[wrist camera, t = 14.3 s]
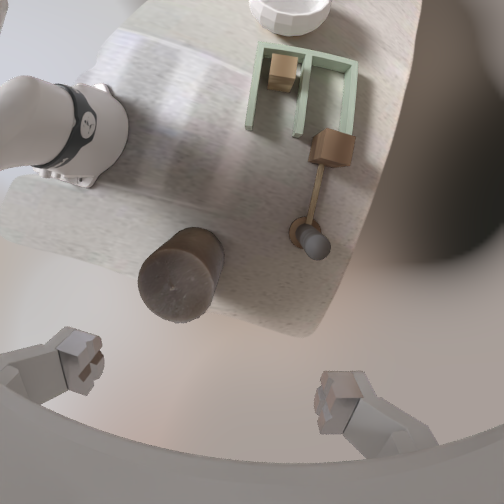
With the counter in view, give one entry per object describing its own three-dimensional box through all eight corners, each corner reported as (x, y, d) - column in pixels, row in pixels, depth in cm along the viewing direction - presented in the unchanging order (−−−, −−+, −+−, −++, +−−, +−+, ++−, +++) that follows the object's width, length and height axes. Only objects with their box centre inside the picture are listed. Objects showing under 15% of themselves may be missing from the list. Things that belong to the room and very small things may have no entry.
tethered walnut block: (285, 244, 46) (294, 262, 36) (309, 136, 42) (325, 124, 32) (315, 250, 47) (331, 270, 36) (340, 144, 42) (363, 136, 32)
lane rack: (245, 130, 42) (244, 125, 38) (257, 51, 39) (258, 41, 35) (342, 146, 42) (350, 144, 38) (350, 69, 39) (358, 61, 35)
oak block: (267, 89, 40) (269, 74, 34) (270, 70, 39) (272, 53, 33) (289, 92, 40) (295, 78, 34) (291, 73, 40) (297, 57, 33)
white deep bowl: (234, 17, 37) (229, -14, 27) (285, -15, 35) (290, -46, 25) (286, 59, 39) (293, 33, 30) (336, 24, 37) (351, -3, 27)
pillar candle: (160, 234, 46) (121, 261, 32) (217, 220, 45) (199, 242, 31) (177, 289, 49) (149, 333, 34) (232, 277, 48) (222, 321, 33)
